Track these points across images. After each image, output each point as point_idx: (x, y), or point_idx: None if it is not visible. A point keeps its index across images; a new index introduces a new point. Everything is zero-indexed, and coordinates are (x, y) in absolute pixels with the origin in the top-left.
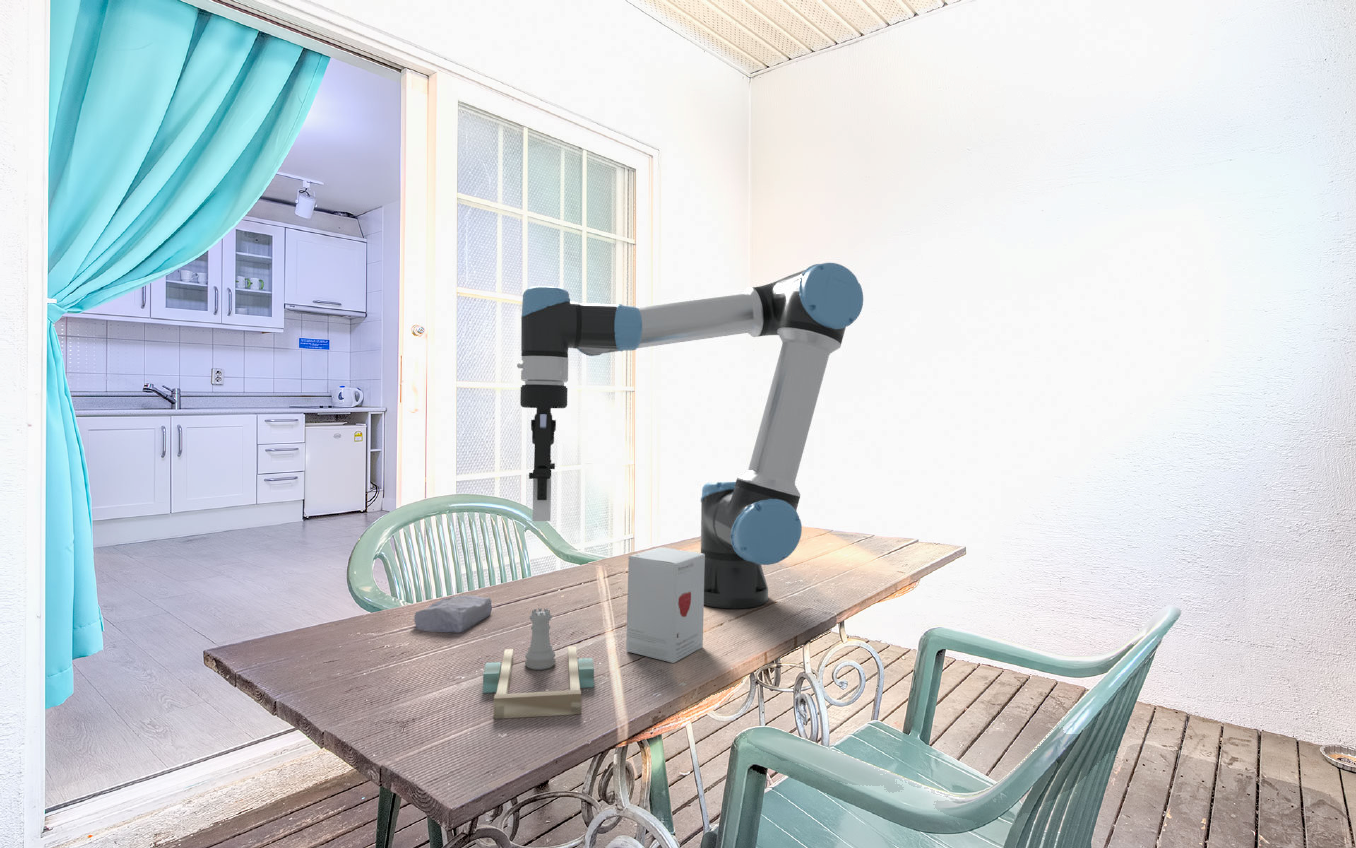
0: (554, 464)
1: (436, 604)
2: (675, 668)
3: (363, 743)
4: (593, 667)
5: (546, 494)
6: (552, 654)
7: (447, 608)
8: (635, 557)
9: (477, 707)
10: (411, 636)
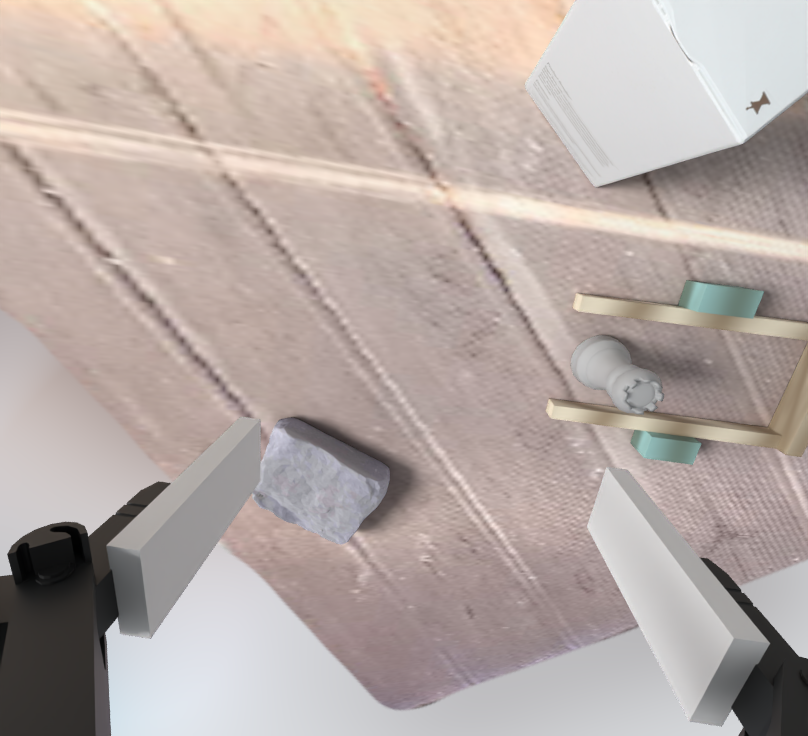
0: (19, 549)
1: (284, 513)
2: None
3: (758, 569)
4: (757, 291)
5: (735, 585)
6: (623, 347)
7: (367, 510)
8: (774, 117)
9: (722, 457)
10: (389, 531)
